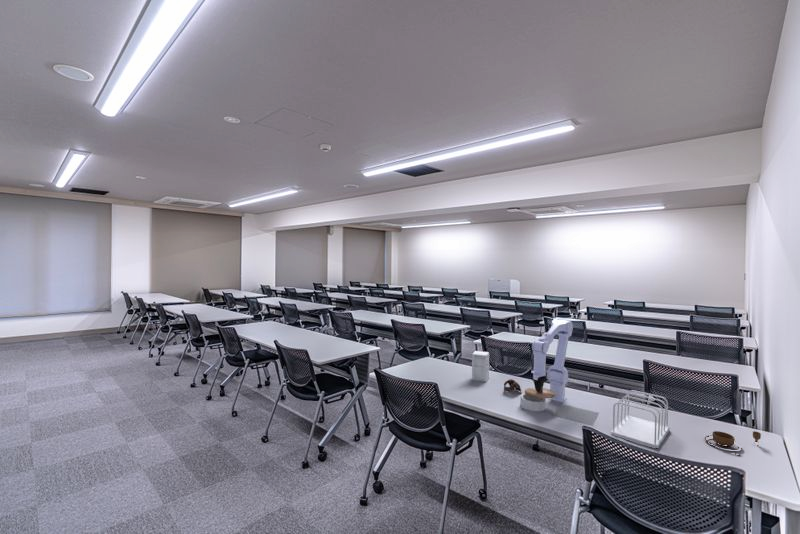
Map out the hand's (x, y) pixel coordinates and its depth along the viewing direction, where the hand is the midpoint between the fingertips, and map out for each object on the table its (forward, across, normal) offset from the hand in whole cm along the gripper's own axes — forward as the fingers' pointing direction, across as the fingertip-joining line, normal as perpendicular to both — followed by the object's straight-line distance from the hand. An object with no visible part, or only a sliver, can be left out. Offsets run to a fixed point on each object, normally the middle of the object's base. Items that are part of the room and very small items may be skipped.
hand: (539, 390), depth 192 cm
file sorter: (+10, -1, +45) cm, 46 cm away
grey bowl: (+9, 0, -3) cm, 10 cm away
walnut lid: (+2, 0, 0) cm, 2 cm away
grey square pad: (+9, -3, +17) cm, 20 cm away
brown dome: (+10, -15, -19) cm, 26 cm away
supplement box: (+10, -25, -44) cm, 51 cm away
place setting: (+10, -10, +77) cm, 79 cm away
